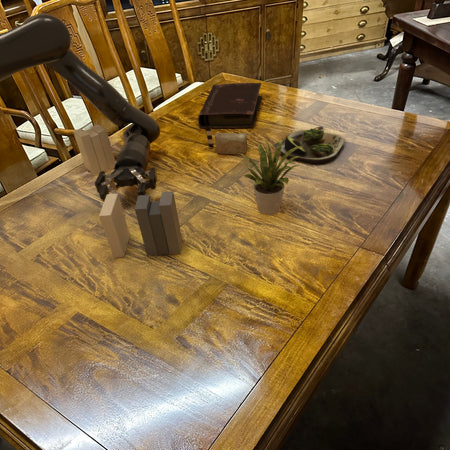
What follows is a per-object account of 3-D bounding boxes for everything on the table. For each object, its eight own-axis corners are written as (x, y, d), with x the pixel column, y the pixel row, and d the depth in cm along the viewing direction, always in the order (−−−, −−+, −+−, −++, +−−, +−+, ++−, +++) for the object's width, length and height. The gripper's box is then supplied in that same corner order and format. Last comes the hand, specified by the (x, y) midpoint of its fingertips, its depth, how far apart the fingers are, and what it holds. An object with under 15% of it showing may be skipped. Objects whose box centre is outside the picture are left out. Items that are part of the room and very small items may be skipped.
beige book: (124, 257, 92) (110, 215, 84) (113, 257, 92) (98, 215, 84) (130, 234, 97) (117, 193, 89) (120, 235, 97) (106, 194, 89)
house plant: (316, 207, 99) (323, 141, 87) (278, 235, 93) (279, 167, 81) (271, 187, 107) (271, 124, 95) (232, 211, 100) (228, 147, 89)
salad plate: (296, 128, 129) (296, 113, 126) (352, 137, 122) (355, 122, 119) (267, 156, 118) (267, 140, 115) (328, 168, 111) (329, 152, 108)
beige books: (86, 170, 121) (72, 131, 112) (108, 161, 123) (97, 122, 115) (93, 176, 118) (80, 136, 109) (117, 166, 121) (105, 127, 112)
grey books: (180, 253, 91) (170, 204, 82) (147, 255, 91) (133, 207, 82) (182, 239, 94) (173, 191, 85) (150, 241, 95) (137, 193, 86)
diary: (198, 129, 134) (196, 113, 130) (212, 98, 151) (210, 83, 147) (256, 128, 131) (255, 112, 127) (263, 97, 148) (263, 82, 144)
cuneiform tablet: (209, 147, 125) (249, 146, 123) (206, 157, 122) (247, 156, 120) (205, 126, 119) (247, 125, 117) (203, 136, 116) (245, 135, 114)
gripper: (101, 150, 105) (86, 184, 94) (157, 146, 104) (148, 180, 93) (109, 177, 110) (96, 212, 99) (162, 173, 109) (155, 208, 98)
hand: (121, 196), depth 96 cm, fingers open, 8 cm apart
